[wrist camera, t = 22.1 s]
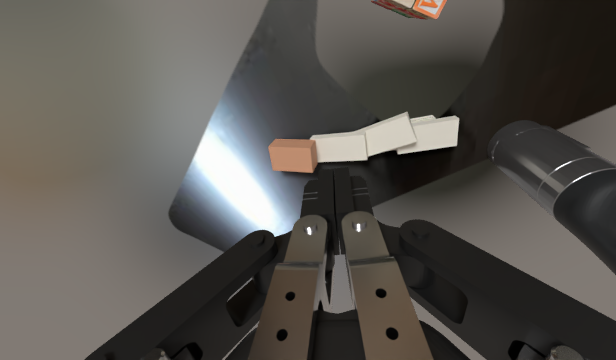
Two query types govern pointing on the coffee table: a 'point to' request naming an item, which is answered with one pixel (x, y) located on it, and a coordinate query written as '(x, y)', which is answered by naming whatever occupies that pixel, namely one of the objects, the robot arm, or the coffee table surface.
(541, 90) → the coffee table surface
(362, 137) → the domino
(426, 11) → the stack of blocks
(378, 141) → the domino
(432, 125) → the domino
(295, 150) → the domino
